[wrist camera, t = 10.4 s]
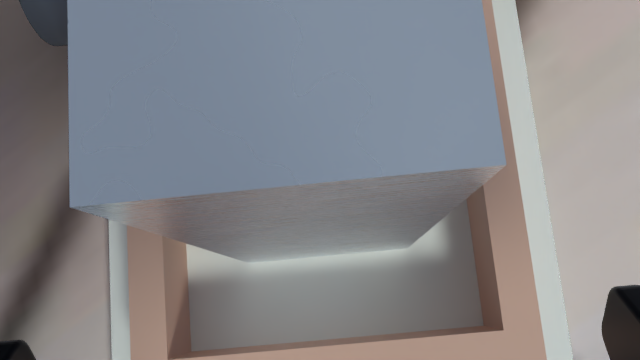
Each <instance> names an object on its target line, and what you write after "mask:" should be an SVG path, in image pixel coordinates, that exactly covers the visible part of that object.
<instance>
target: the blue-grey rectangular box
mask: <svg viewBox="0 0 640 360" xmlns="http://www.w3.org/2000/svg"><path fill="white" fill-rule="evenodd" d="M67 11H68V98H69V186H70V207H71V208H74V209H77V210H80V211H83V212H87V213H90V214H93V215H96V216H99V217H103V218H106V219H109V220H112V221H115V222H119V223H122V224H125V225H128V226H131V227H135V228H138V229H141V230H144V231H147V232H151V233H154V234H157V235H160V236H164V237H167V238H170V239H173V240H176V241H180V242H183V243H186V244H189V245H192V246H196V247H199V248H202V249H205V250H208V251H212V252H215V253H218V254H221V255H224V256H228V257H231V258H234V259H237V260H240V261H244V262H247V263H257V262H267V261H278V260H289V259H300V258H310V257H321V256H332V255H343V254H353V253H364V252H375V251H386V250H396V249H407V248H409V247H410V246H411V245H412V244H413V243H414V242H416V241H417V240H418V239H419V238H420V237H422V236H423V235H424V234H425V233H426V232H428V231H429V230H430V229H431V228H432V227H433V226H435V225H436V224H437V223H438V222H439V221H441V220H442V219H443V218H444V217H445V216H446V215H448V214H449V213H450V212H451V211H452V210H454V209H455V208H456V207H457V206H458V205H460V204H461V203H462V202H463V201H464V200H465V199H467V198H468V197H469V196H470V195H471V194H473V193H474V192H475V191H476V190H477V189H478V188H480V187H481V186H482V185H483V184H484V183H486V182H487V181H488V180H489V179H490V178H492V177H493V176H494V175H495V174H496V173H497V172H499V171H500V170H501V169H502V168H503V167H505V166H506V158H505V151H504V145H503V138H502V131H501V125H500V118H499V111H498V105H497V98H496V91H495V85H494V78H493V72H492V65H491V58H490V52H489V45H488V38H487V32H486V25H485V18H484V12H483V5H482V0H67Z"/></svg>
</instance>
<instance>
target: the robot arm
mask: <svg viewBox="0 0 640 360" xmlns="http://www.w3.org/2000/svg"><path fill="white" fill-rule="evenodd" d="M602 336H603V340H604V343H605V346H606V349H607V352H608V355H609V357H610V360H640V285H629V286H617V287H614V288H612V289H611V290H610V292H609V294H608V299H607V303H606V308H605V312H604V317H603V321H602ZM0 360H36V359H35V357H34V355H33V353H32V351H31V349H30V347H29V346H28V344H27V343H26V342H25V341H23V340H11V341H0Z"/></svg>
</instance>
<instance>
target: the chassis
mask: <svg viewBox="0 0 640 360" xmlns="http://www.w3.org/2000/svg"><path fill="white" fill-rule="evenodd" d="M19 1H20V4H21V6H22V9H23V11H24V13H25V15H26V17H27V19H28V20H29V22H30V24H31V25H32V27H33V28H34V30H35V31H36V32H37V34H38V35H39V36H40V37H41V38H42V39H43V40H44V41H45V42H47V43H48V44H50V45H53V46H63V45H68V11H67V0H19ZM482 5H483V12H484V18H485V25H486V32H487V38H488V45H489V52H490V58H491V65H492V72H493V78H494V85H495V91H496V98H497V105H498V111H499V118H500V125H501V131H502V138H503V145H504V151H505V158H506V166H505V167H503V168H502V169H501V170H500V171H499V172H497V173H496V174H495V175H494V176H493V177H492V178H490V179H489V180H488V181H487V182H486V183H484V184H483V185H482V186H481V187H480V188H478V189H477V190H476V191H475V192H474V193H473V194H471V195H470V196H469V197H468V198H467V199H465V200H464V201H463V202H462V203H461V204H460V205H458V206H457V207H456V208H455V209H454V210H452V211H451V212H450V213H449V214H448V215H446V216H445V217H444V218H443V219H442V220H441V221H439V222H438V223H437V224H436V225H435V226H433V227H432V228H431V229H430V230H429V231H428V232H426V233H425V234H424V235H423V236H422V237H420V238H419V239H418V240H417V241H416V242H414V243H413V244H412V245H411V246H410V247H409V248H407V249H396V250H386V251H375V252H364V253H353V254H343V255H332V256H321V257H310V258H300V259H289V260H278V261H267V262H257V263H247V262H244V261H240V260H237V259H234V258H231V257H228V256H224V255H221V254H218V253H215V252H212V251H208V250H205V249H202V248H199V247H196V246H192V245H189V244H186V243H183V242H180V241H176V240H173V239H170V238H167V237H164V236H160V235H157V234H154V233H151V232H147V231H144V230H141V229H138V228H135V227H131V226H128V225H125V224H122V223H119V222H115V221H112V220H109V260H110V303H111V345H112V360H573V355H572V349H571V342H570V336H569V330H568V324H567V318H566V312H565V305H564V299H563V293H562V287H561V281H560V274H559V268H558V262H557V256H556V250H555V244H554V237H553V231H552V225H551V219H550V213H549V206H548V200H547V194H546V188H545V182H544V176H543V169H542V163H541V157H540V151H539V145H538V138H537V132H536V126H535V120H534V114H533V108H532V101H531V95H530V89H529V83H528V77H527V71H526V64H525V58H524V52H523V46H522V40H521V33H520V27H519V21H518V15H517V9H516V3H515V0H482Z"/></svg>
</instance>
